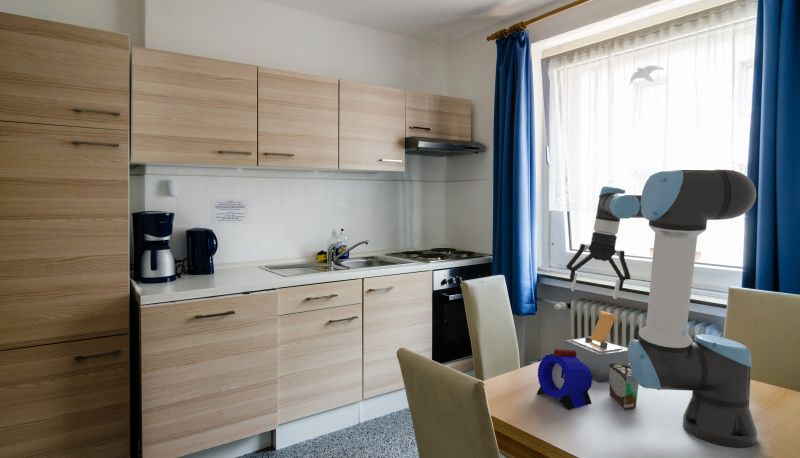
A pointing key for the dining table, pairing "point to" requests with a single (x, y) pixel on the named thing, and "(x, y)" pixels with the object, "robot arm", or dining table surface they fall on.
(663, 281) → the robot arm
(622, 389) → the food container
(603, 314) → the lever
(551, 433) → the dining table surface
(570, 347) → the box
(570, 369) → the alarm clock
